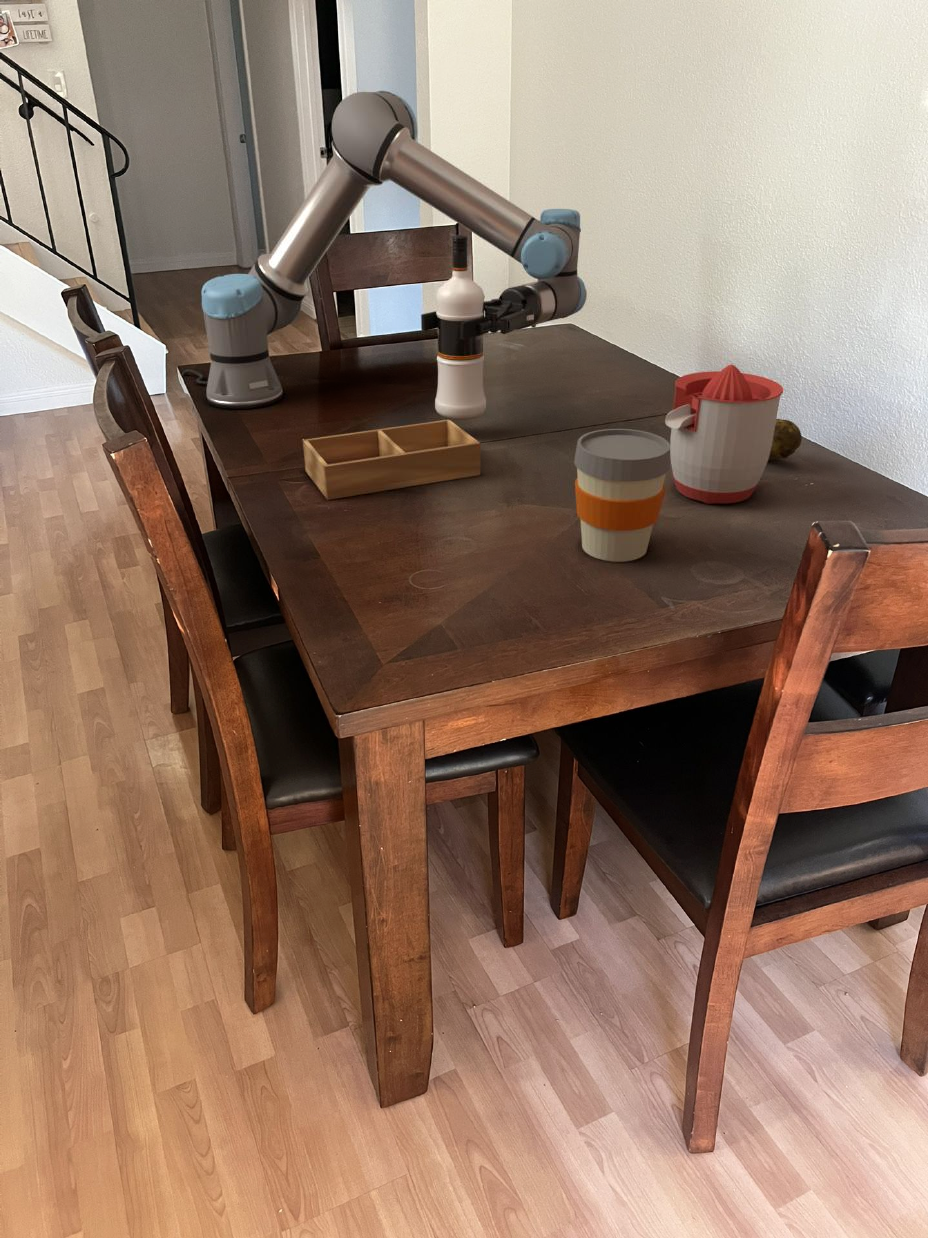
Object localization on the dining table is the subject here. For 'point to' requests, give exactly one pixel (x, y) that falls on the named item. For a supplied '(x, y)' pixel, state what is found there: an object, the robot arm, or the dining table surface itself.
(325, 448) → the wooden divided tray
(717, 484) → the citrus juicer
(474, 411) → the vodka
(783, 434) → the potato
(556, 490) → the dining table surface
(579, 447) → the reusable coffee cup
